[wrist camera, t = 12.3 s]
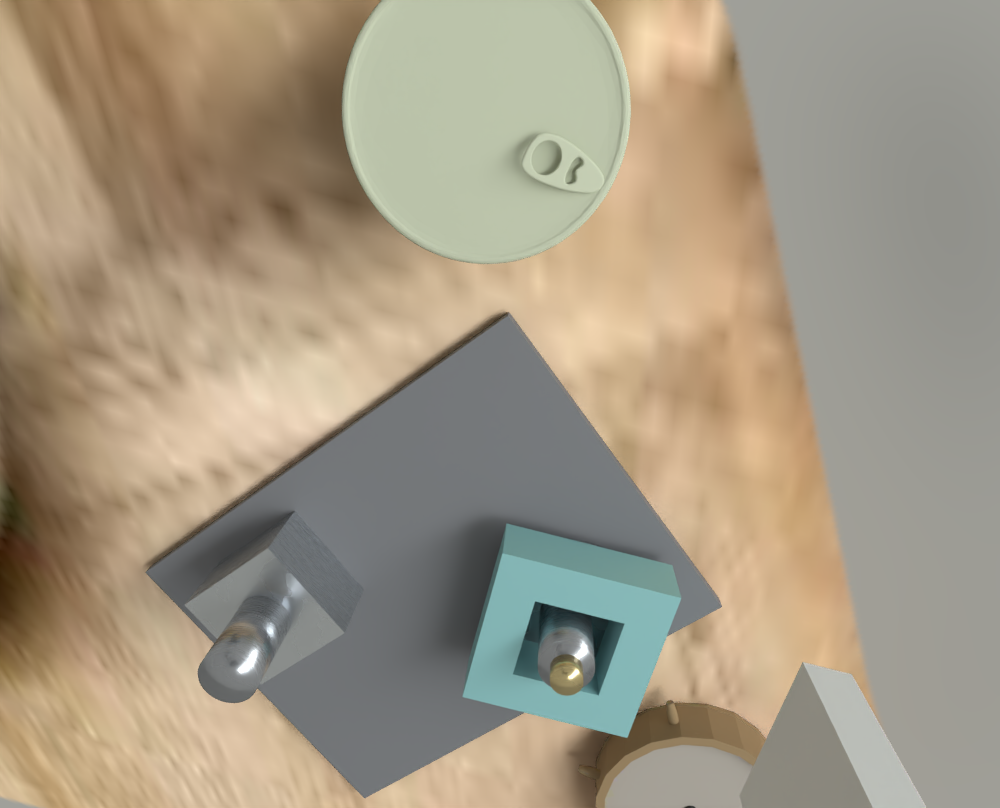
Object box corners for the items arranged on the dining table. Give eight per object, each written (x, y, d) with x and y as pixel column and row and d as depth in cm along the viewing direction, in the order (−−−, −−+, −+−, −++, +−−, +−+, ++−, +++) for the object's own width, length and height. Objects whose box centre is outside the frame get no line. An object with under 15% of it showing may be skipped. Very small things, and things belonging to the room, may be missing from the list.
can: (546, 264, 36) (542, 318, 24) (376, 171, 35) (289, 183, 23) (646, 81, 33) (694, 45, 21) (462, -25, 32) (411, -121, 20)
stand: (217, 563, 42) (137, 662, 34) (295, 510, 40) (229, 600, 32) (286, 637, 43) (225, 749, 35) (364, 589, 42) (318, 694, 34)
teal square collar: (468, 659, 41) (462, 696, 39) (506, 523, 38) (502, 553, 36) (622, 697, 42) (627, 738, 39) (672, 565, 38) (681, 598, 36)
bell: (465, 584, 41) (449, 661, 35) (584, 512, 39) (589, 580, 33) (547, 683, 43) (546, 772, 37) (665, 619, 41) (684, 702, 35)
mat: (152, 564, 43) (145, 572, 42) (509, 312, 36) (507, 315, 36) (367, 788, 48) (364, 798, 47) (718, 598, 41) (721, 606, 40)
